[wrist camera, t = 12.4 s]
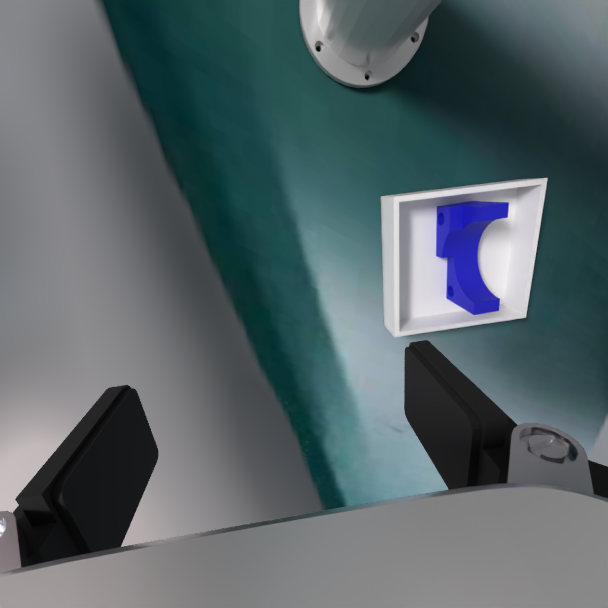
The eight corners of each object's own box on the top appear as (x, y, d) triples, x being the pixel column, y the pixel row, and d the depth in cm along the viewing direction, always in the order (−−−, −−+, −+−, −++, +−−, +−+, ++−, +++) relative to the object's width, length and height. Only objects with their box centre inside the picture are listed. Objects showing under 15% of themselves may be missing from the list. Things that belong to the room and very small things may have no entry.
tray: (380, 196, 36) (393, 196, 32) (519, 179, 37) (547, 177, 33) (383, 324, 42) (394, 337, 38) (503, 306, 43) (525, 317, 39)
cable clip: (436, 206, 37) (466, 209, 31) (472, 200, 37) (509, 202, 31) (435, 300, 41) (461, 317, 35) (467, 294, 41) (498, 310, 35)
